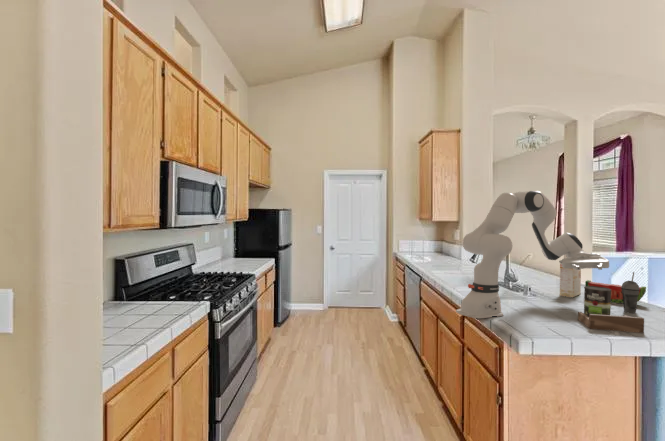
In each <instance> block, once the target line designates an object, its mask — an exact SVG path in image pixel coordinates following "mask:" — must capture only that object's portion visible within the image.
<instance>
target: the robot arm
mask: <svg viewBox="0 0 665 441" xmlns="http://www.w3.org/2000/svg"><path fill="white" fill-rule="evenodd" d="M525 213H530V214H531V216H532V220H533V221H532V223H531V227H532V229H533V232H534V234H535V237H536V239H537V241H538V243H539V245H540V248H541V252H542V253H543V256H544V257H545V258H546V259H547V260H550V261H556V260H558V259H560V258H561V257H562V256H564V255H565V256H566V258H565V257H563V258H562V259H560V260H559V264H560V263H562V267H563V268H565V269H576V270H580V269H581V270H582V269H583V270H584V269H597V270H599V271H601V270H603V269H609V267H610V260H608V258H606V257H605V256H602V255H601V254H600V253H595V252H587V251H584V249H583V242H581V240H580V239H579V238H578V236H576V235H575V234H573V233H571V232H565V233H563V234H561V235H560V236H558V237H556V238H554V239H552V240H551V241H548V239H547V237H546V235H545V232H546V230H547V229H548V227H550V225H551V224H552V223H553V222H554V221H555V219H556V217H557V210H556V208H555V206H554V204H553V203H552V202H551V201H550V199H549V198H548V197H547V195H545V194H544V193H543V192H541V191H539V190H529V191H518V192H517V191H516V192H513V193H511V192H503V193H501V194H499V195H498V197H497V198H496V199H495V201H494V202H493V204H492V205H491V208H490V210H489V212H487V215H486V216H485V219H484V220H483V222H482V223H481V224H480V225H479V226H477V228H475V229H474V230H472V231H471V232H469V233H467V234H465V235H464V237H463V238H462V246H463V247H462V248H463V249H464V250H465V251H466V252H468V253H471V254H473V255H480V256H482V259H481V261H480V262H479V263H477V264H476V265H475V266H474V268H473V282H472V284H470V283H469V284H468V283H467V288H468V289H471V290H470V292H468V293H467V295H466V296H465V297H463V298H462V300H461V304H460V305H461V306H460V308H458V309H455V312H456V313H457V314H459V315H461V316H465V317H468V318H473V319H474V318H475V319H479V320H480V319H485V318H487V319H488V318H493V317H492V316H497V317H504V312H502V304H501V297H500V295H499V291H500V284H499V271H500V270H499V269H500V267H501V263H502V262H503V260H505V258H506V257H507V256H508V255H510V254H511V253H512V250H513V242H512V240H511V238H510V237H509V236H507V235H504V234H501V233H504V232H505V231H506V230H508V228H509V227H510V224H511V221H512V220H513V218H514V216H515V214H525Z"/></svg>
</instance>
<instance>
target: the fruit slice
mask: <svg viewBox="0 0 665 441" xmlns="http://www.w3.org/2000/svg"><path fill="white" fill-rule="evenodd" d="M584 282H585V283H584V287H585V286H599V287H605V288H609V289H611V303H613V304H614V303H616V304H623V295H622V289H621V287H622V284H621V285H620V284H613V283H610V284H609V283H602V282H595V281H591V280H588V279H587V280H585V281H584ZM639 289H640V290H639V294H638V300H637V303H638V302H639V301H641V299H642V298H643V297H644V295H645V294H646V292H647V286H639Z"/></svg>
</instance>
